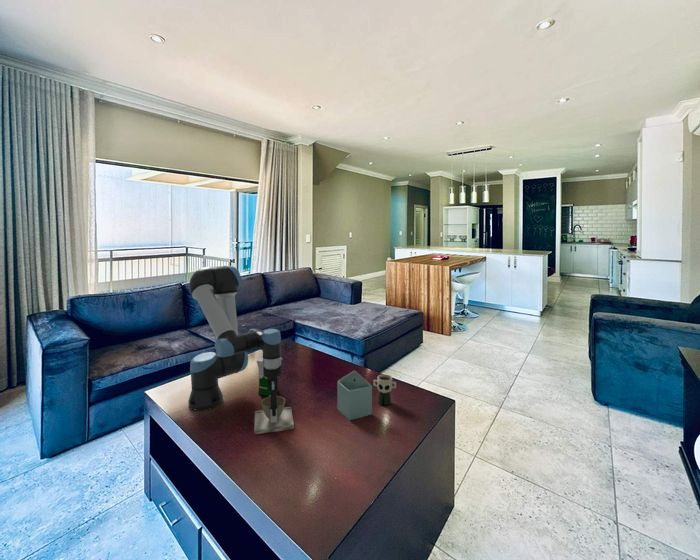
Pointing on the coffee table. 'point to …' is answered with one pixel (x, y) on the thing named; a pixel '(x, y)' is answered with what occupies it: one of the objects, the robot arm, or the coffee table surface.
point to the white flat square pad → (266, 426)
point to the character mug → (384, 388)
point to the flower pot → (267, 403)
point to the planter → (354, 396)
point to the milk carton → (263, 380)
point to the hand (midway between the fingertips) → (273, 415)
